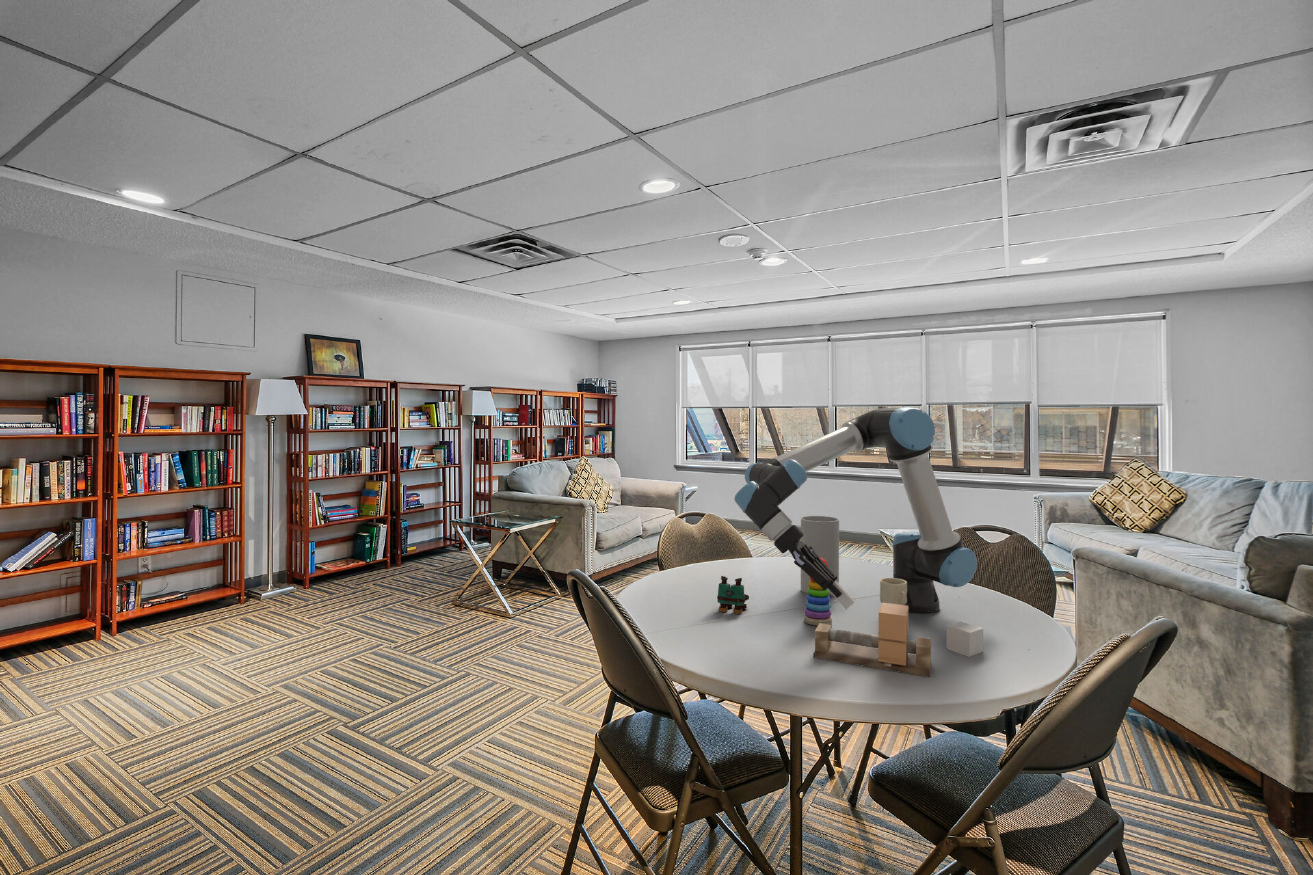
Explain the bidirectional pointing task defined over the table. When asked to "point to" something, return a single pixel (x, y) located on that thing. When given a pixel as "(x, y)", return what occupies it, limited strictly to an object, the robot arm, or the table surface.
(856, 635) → the pipe stand
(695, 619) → the table surface
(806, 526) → the cylinder vase
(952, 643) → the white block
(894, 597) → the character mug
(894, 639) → the wooden block
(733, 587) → the binoculars
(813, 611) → the stacking toy
